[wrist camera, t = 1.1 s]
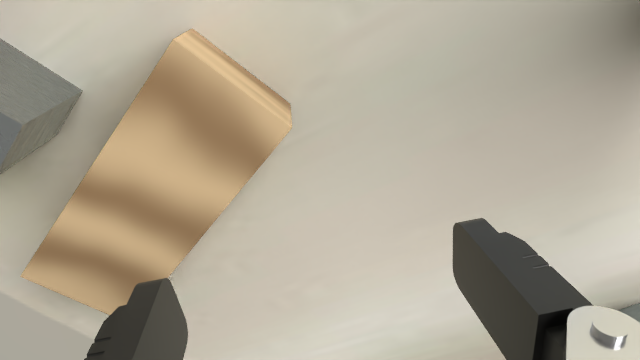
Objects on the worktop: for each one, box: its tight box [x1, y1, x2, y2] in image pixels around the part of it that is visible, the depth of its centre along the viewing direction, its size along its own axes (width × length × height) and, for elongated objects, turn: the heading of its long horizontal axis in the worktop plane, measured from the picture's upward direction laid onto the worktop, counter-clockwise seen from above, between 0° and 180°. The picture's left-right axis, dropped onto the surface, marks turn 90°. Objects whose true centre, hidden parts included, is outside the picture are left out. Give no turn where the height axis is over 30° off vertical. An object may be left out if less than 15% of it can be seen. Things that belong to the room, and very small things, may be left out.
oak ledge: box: [20, 29, 292, 315], centre depth 27 cm, size 20×8×5 cm, turn 140°
